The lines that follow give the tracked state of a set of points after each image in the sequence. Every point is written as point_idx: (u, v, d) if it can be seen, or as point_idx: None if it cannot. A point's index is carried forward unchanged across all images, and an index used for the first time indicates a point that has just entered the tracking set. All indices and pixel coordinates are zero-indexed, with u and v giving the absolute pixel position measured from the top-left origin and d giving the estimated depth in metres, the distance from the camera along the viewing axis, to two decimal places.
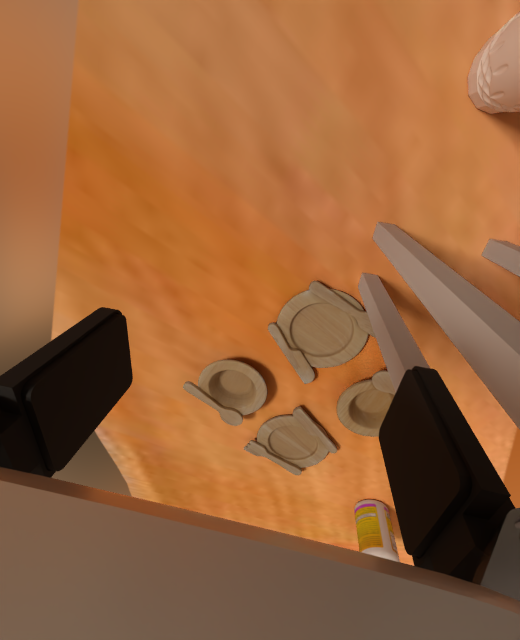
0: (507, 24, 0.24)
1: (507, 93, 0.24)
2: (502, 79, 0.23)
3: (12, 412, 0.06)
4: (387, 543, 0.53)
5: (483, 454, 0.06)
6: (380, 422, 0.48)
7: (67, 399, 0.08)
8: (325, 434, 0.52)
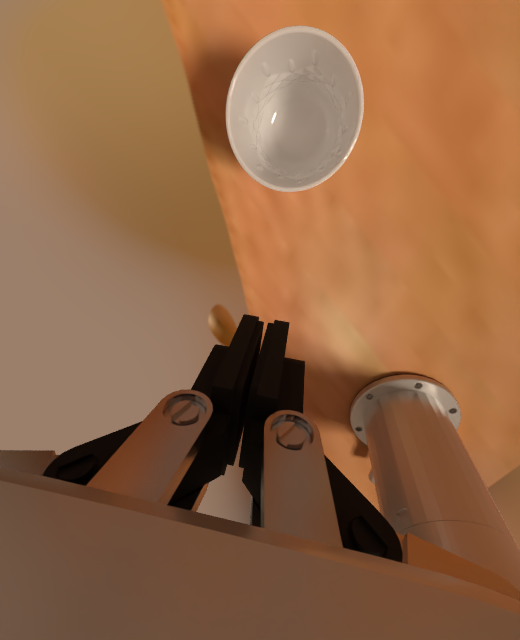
0: None
1: None
2: None
3: (223, 411, 0.07)
4: None
5: (279, 375, 0.08)
6: None
7: (244, 400, 0.08)
8: None
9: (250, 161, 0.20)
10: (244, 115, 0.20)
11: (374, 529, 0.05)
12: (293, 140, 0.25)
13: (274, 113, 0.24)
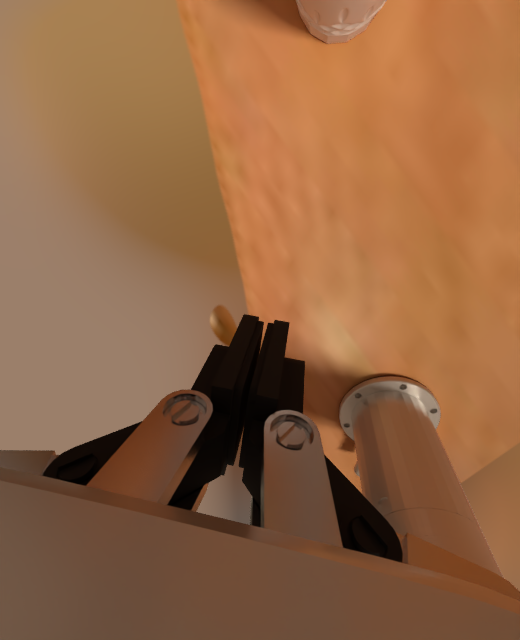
0: None
1: None
2: None
3: (223, 411, 0.07)
4: None
5: (279, 375, 0.08)
6: None
7: (244, 400, 0.08)
8: None
9: None
10: None
11: (374, 529, 0.05)
12: None
13: None
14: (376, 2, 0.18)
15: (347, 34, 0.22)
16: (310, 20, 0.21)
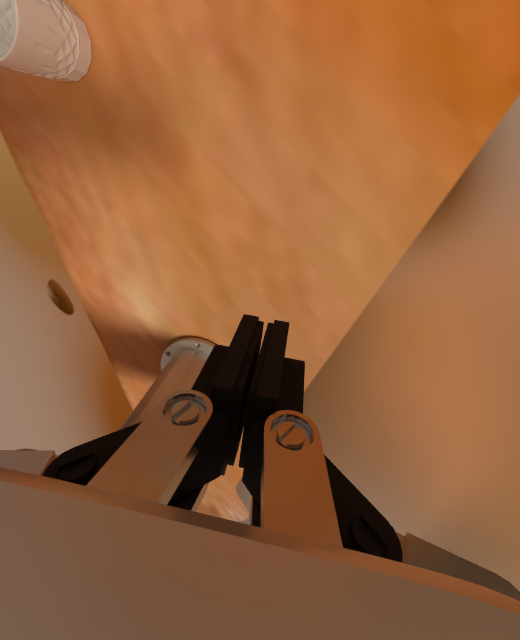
0: (61, 57, 0.29)
1: None
2: None
3: (223, 411, 0.07)
4: None
5: (279, 375, 0.08)
6: None
7: (244, 400, 0.08)
8: None
9: None
10: None
11: (374, 529, 0.05)
12: None
13: None
14: (37, 63, 0.27)
15: (63, 77, 0.32)
16: None
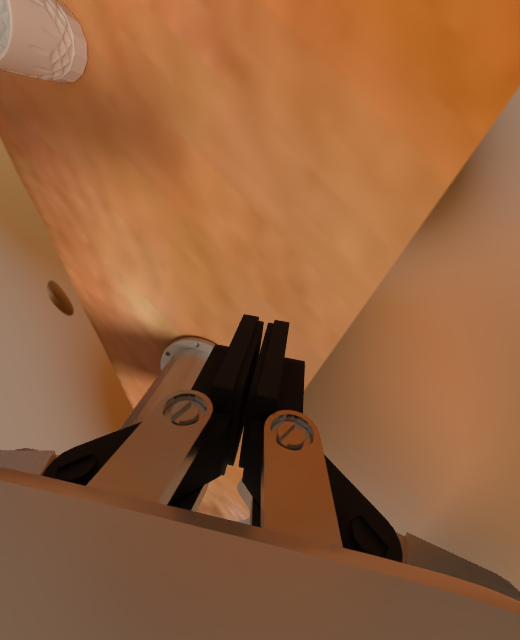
0: (56, 58, 0.29)
1: None
2: None
3: (223, 411, 0.07)
4: None
5: (279, 375, 0.08)
6: None
7: (244, 400, 0.08)
8: None
9: None
10: None
11: (374, 529, 0.05)
12: None
13: None
14: (32, 64, 0.27)
15: (59, 79, 0.32)
16: None
